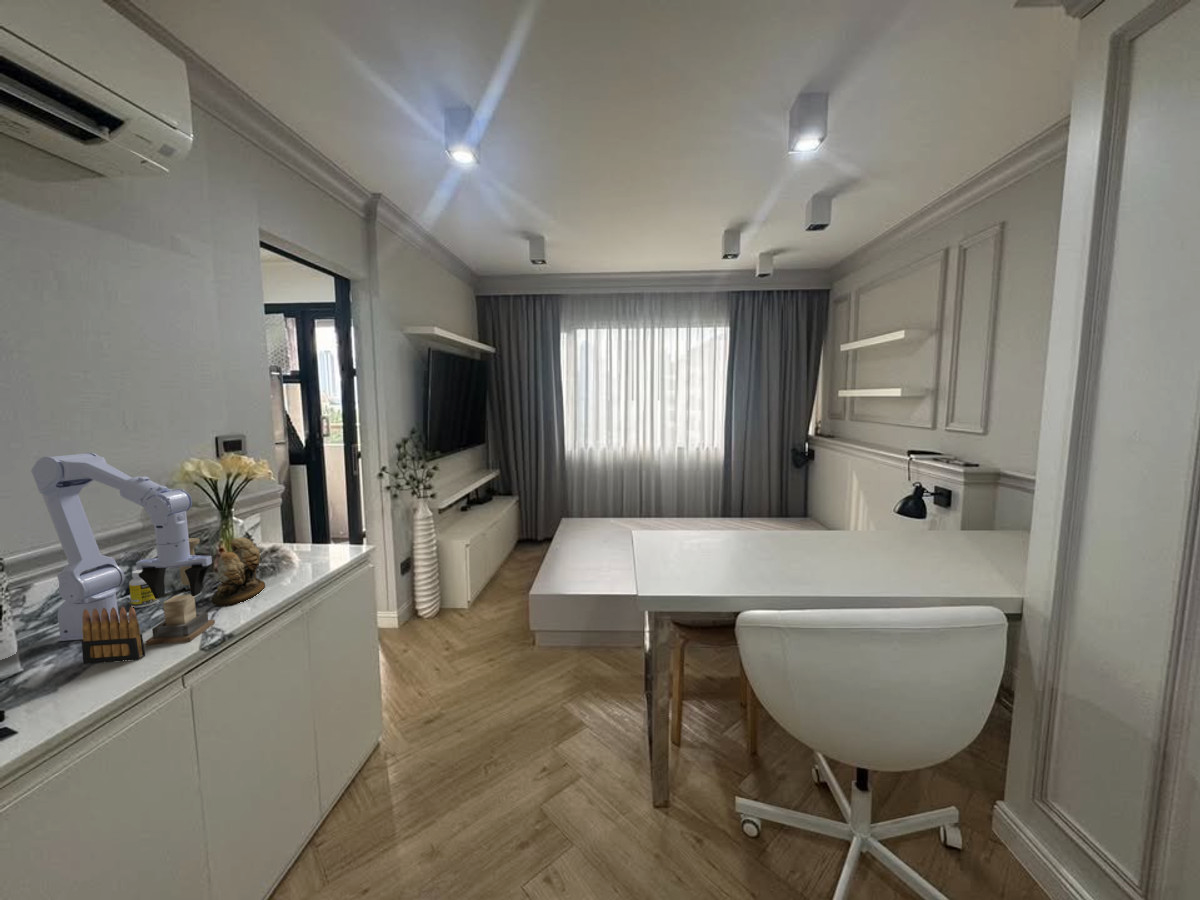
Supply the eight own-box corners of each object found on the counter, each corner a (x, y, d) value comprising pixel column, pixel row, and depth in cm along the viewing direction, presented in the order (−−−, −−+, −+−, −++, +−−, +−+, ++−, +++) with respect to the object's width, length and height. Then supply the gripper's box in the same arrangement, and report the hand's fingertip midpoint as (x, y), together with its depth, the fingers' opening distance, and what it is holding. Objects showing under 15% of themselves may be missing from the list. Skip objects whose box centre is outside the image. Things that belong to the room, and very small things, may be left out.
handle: (195, 591, 137) (190, 542, 135) (172, 592, 136) (167, 543, 134) (207, 584, 141) (203, 537, 140) (185, 585, 141) (180, 538, 139)
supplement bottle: (142, 609, 125) (138, 574, 124) (126, 607, 126) (122, 573, 125) (164, 600, 130) (160, 567, 129) (148, 599, 131) (144, 566, 130)
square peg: (166, 634, 109) (163, 602, 108) (178, 626, 113) (175, 595, 112) (185, 632, 110) (182, 601, 109) (197, 625, 114) (194, 594, 113)
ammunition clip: (82, 664, 99) (76, 611, 97) (91, 659, 101) (84, 607, 99) (138, 660, 100) (132, 607, 99) (145, 655, 102) (139, 604, 101)
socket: (146, 645, 106) (144, 630, 106) (174, 626, 115) (173, 613, 115) (190, 641, 108) (189, 627, 108) (214, 623, 117) (213, 610, 116)
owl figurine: (226, 586, 141) (222, 532, 139) (272, 580, 145) (268, 528, 144) (201, 610, 124) (196, 549, 123) (254, 603, 129) (249, 544, 127)
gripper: (217, 534, 114) (222, 586, 116) (150, 537, 112) (156, 591, 113) (198, 543, 107) (203, 598, 109) (126, 546, 105) (132, 603, 106)
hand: (178, 595), depth 111 cm, fingers open, 7 cm apart
